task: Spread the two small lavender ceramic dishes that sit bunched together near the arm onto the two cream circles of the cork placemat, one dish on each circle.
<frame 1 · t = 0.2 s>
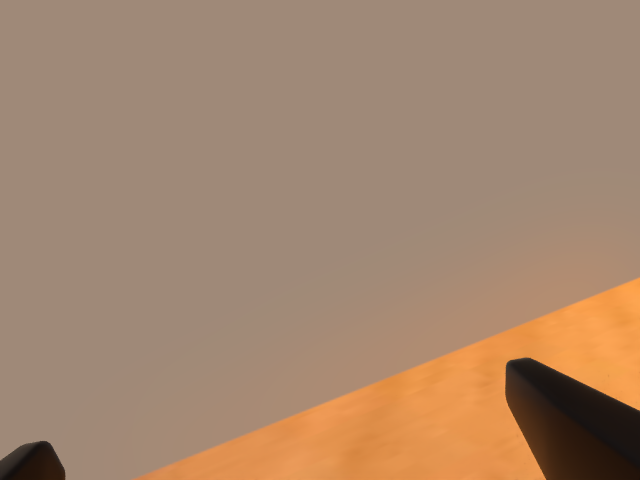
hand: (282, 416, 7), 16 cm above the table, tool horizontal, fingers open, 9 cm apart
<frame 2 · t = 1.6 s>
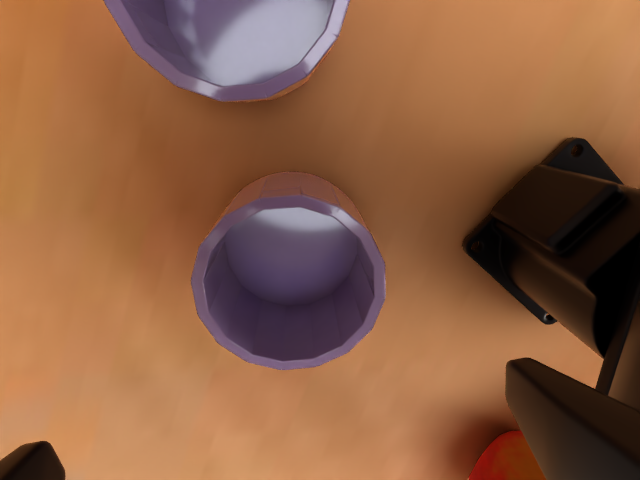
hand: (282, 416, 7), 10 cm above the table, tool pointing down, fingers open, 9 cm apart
dish a: (292, 243, 17), on the table
apple: (507, 451, 22), on the table
dish b: (248, 6, 14), on the table
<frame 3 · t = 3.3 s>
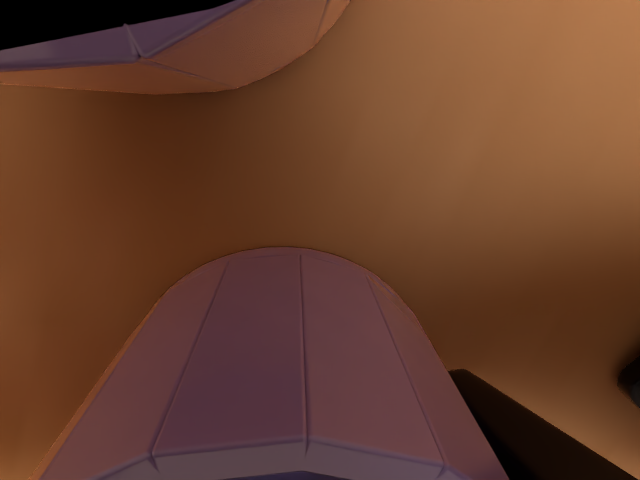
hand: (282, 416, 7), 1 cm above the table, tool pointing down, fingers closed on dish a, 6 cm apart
dish a: (283, 381, 8), on the table, touching gripper
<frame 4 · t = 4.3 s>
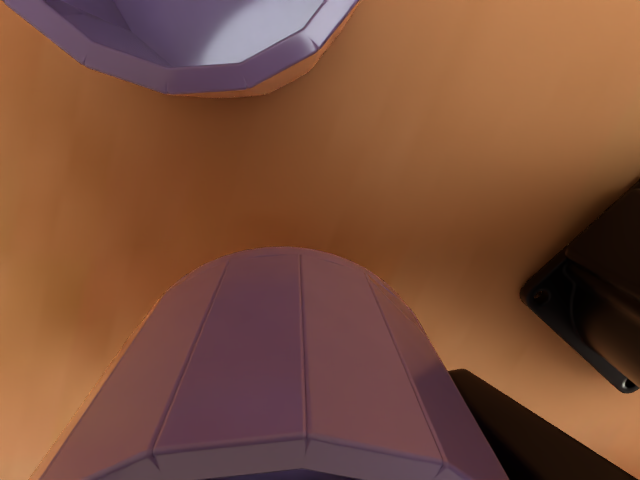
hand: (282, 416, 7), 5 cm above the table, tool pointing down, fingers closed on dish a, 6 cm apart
dish a: (283, 380, 8), point 4 cm above the table, touching gripper
when the fingers open (2 cm above the table, at t = 9.8 s): dish a stays where it is, resting on placemat.
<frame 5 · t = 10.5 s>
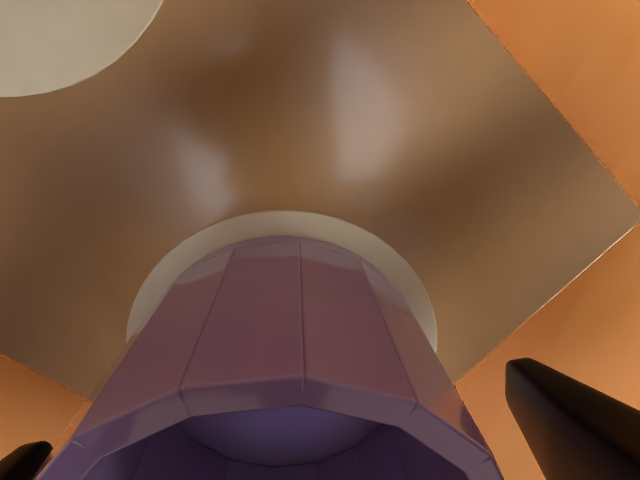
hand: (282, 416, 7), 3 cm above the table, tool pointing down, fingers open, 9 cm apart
dish a: (284, 360, 9), point 1 cm above the table, touching placemat
placemat: (163, 153, 8), on the table
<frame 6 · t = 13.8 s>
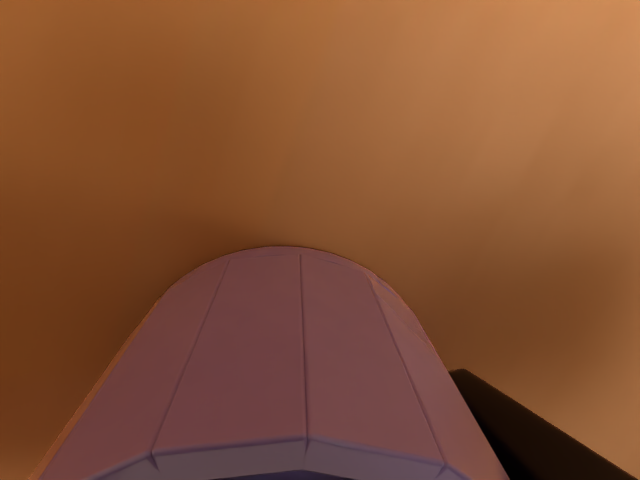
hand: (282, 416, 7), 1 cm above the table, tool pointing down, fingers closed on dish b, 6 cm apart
dish b: (282, 380, 8), on the table, touching gripper
when the fingers open (2 cm above the table, at t = 19.9 s): dish b stays where it is, resting on placemat.
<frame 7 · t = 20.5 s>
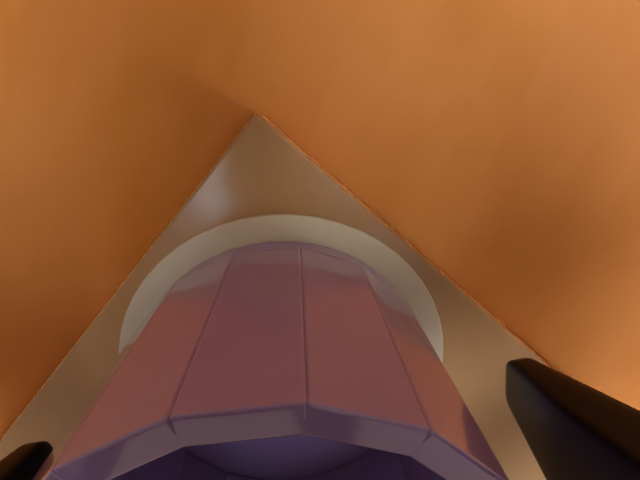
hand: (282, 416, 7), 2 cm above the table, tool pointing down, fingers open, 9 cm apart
dish b: (284, 370, 9), point 1 cm above the table, touching placemat
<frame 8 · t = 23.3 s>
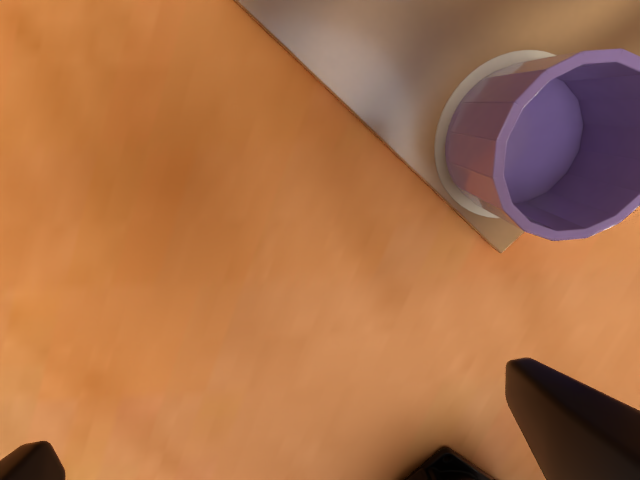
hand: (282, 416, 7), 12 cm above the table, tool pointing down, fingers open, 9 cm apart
dish a: (513, 140, 17), point 1 cm above the table, touching placemat
placemat: (470, 22, 16), on the table
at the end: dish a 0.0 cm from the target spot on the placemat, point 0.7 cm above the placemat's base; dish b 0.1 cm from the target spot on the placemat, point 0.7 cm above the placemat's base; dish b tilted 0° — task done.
